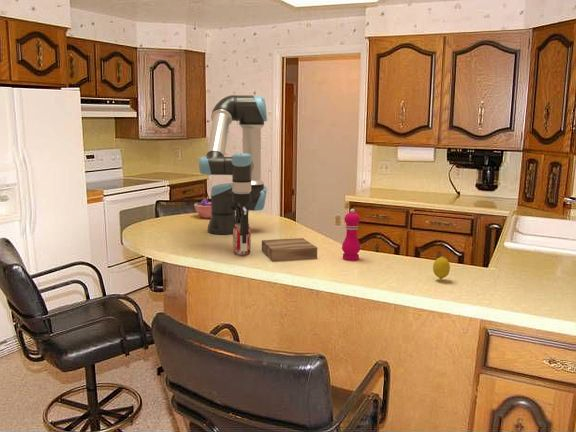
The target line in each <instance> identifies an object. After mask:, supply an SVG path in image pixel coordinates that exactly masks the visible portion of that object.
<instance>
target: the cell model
mask: <svg viewBox="0 0 576 432" xmlns="http://www.w3.org/2000/svg"><path fill="white" fill-rule="evenodd" d="M193 207H194V209H195V212H196V213H197V214H198V216H199V217H200V218H203V219H208V220H210V218H211V201H209V200H208V199H207V198H204V199H202V200H201V202H196V203H194V205H193Z"/></svg>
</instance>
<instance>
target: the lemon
mask: <svg viewBox="0 0 576 432" xmlns="http://www.w3.org/2000/svg"><path fill="white" fill-rule="evenodd" d="M450 270H451V266H450V262H449V260H448V259H447V258H445V257H444V256H440V257H438V258H436V259H435V260H434V262H433V266H432V271H433V274H434V275H435V276H436V277H437V278H438V279H439V280H442V279H444V278H446V277H447V276H448V275H449V273H450Z"/></svg>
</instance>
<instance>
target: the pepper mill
mask: <svg viewBox="0 0 576 432" xmlns="http://www.w3.org/2000/svg"><path fill="white" fill-rule="evenodd" d="M355 210H356V209H354V208H351V209H350V212H348V213H346V214H345V215H344V223H345V229H346V233H345V234H346V235H345V238H344V240H343V241H342V245H341V250H342V252H343V254H342V259H343V260H345V261H350V262H351V261H353V262H354V261H355V262H356V261H358V260H359V259H360V255H359V252H360V251H361V244H360V241H359V239H358V233H357V232H358V230H359V223H360V222H361V217H360V215H359V214H358V213H357V212H356V211H355Z"/></svg>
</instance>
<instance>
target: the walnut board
mask: <svg viewBox="0 0 576 432" xmlns="http://www.w3.org/2000/svg"><path fill="white" fill-rule="evenodd" d="M261 251H262V253H263V254H264V255H265V256H266V257H267V258H269V260H271V262H274V263H276V262H288V261H289V262H291V261H304V260H305V261H306V260H318V247H317V246H316V245H314V244H313V243H311V242H310V241H308V240H307V239H305V238H304V237H296V238H294V237H292V238H278V239H277V238H275V239H274V238H273V239H262V240H261Z"/></svg>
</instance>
